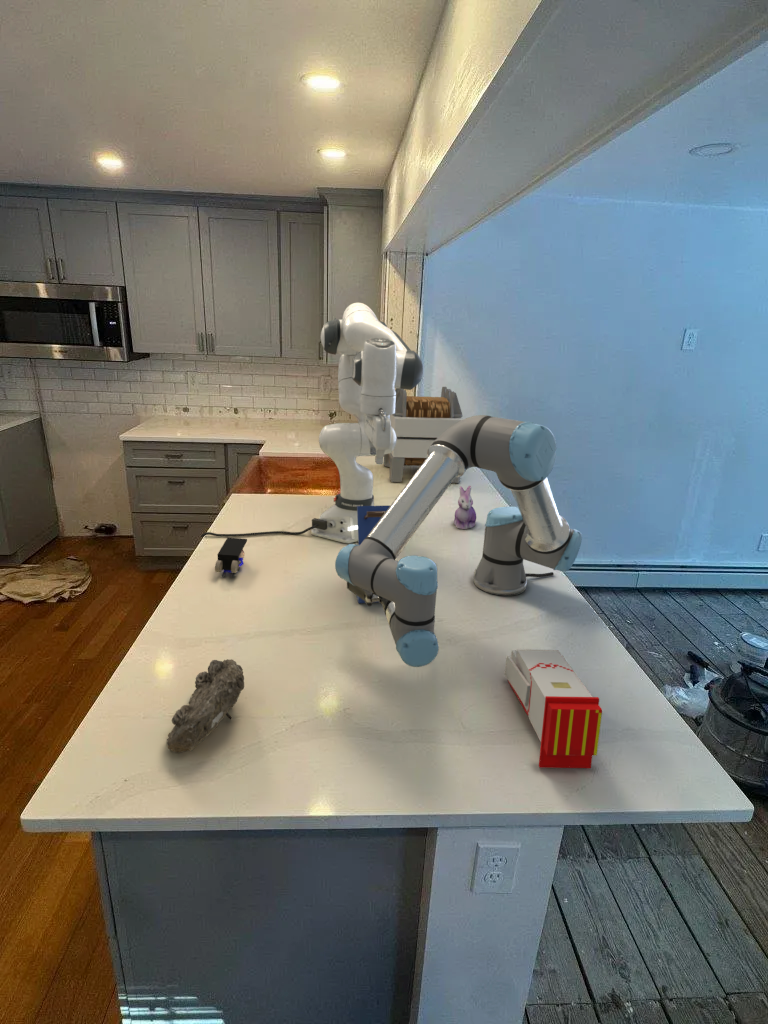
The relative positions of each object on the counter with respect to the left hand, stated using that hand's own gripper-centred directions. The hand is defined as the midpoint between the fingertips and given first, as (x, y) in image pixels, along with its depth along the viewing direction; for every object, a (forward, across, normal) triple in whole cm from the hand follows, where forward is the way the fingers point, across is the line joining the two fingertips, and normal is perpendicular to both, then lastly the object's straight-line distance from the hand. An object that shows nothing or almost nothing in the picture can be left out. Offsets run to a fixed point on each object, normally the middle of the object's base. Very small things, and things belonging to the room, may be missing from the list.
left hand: (375, 458), depth 148 cm
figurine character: (+38, +15, +39) cm, 56 cm away
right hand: (+21, -20, 0) cm, 29 cm away
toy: (+38, -57, -25) cm, 73 cm away
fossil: (+38, -49, +38) cm, 73 cm away
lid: (+20, -4, 0) cm, 20 cm away
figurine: (+38, +46, -42) cm, 73 cm away
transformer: (+38, +116, -42) cm, 129 cm away
